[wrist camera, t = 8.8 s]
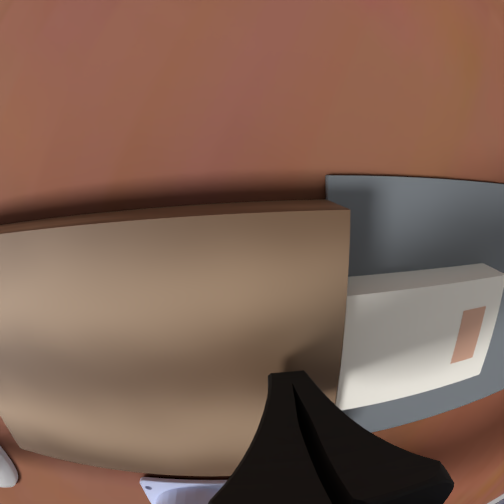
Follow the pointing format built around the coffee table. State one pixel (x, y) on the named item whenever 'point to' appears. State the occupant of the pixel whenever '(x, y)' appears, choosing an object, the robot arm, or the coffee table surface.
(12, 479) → the candlestick
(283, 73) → the coffee table surface
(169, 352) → the brown box
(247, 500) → the robot arm
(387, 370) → the white box with patch
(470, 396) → the mat
